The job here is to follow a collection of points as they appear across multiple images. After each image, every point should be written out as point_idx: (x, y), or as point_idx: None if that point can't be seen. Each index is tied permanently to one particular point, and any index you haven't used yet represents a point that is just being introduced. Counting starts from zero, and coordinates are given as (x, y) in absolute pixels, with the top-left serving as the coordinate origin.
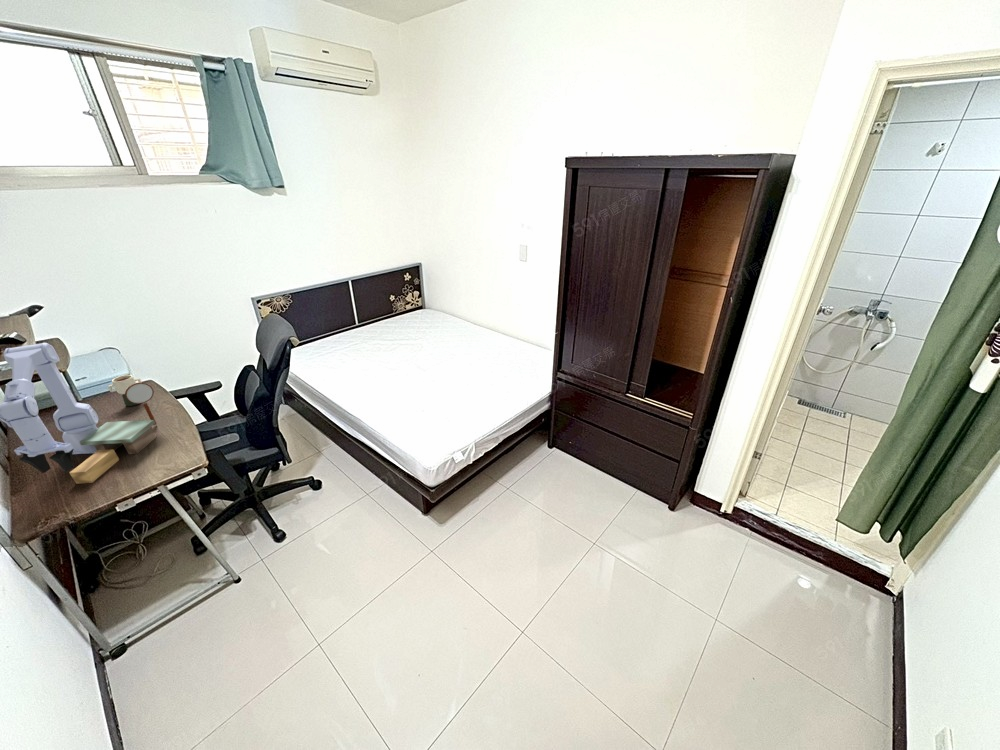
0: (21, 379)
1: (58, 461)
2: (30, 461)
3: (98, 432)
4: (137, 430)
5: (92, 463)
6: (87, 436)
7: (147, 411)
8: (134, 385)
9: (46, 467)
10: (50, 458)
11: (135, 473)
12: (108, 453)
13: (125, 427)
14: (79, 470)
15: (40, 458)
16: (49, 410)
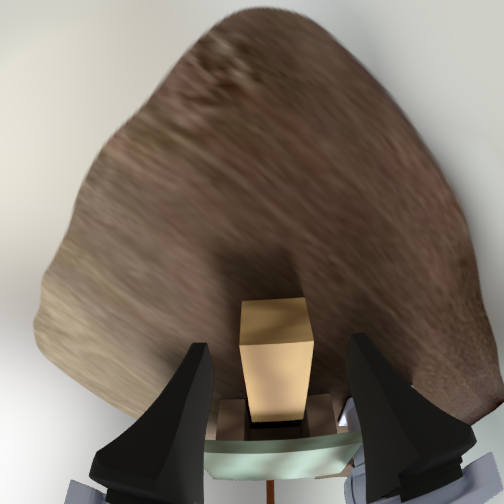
0: None
1: (154, 430)
2: (404, 434)
3: (331, 461)
4: (212, 466)
5: (259, 380)
6: (353, 452)
7: (269, 486)
8: None
9: (352, 371)
10: (151, 479)
11: (129, 331)
12: (250, 411)
13: (265, 472)
14: (276, 352)
15: (373, 440)
16: (476, 421)
